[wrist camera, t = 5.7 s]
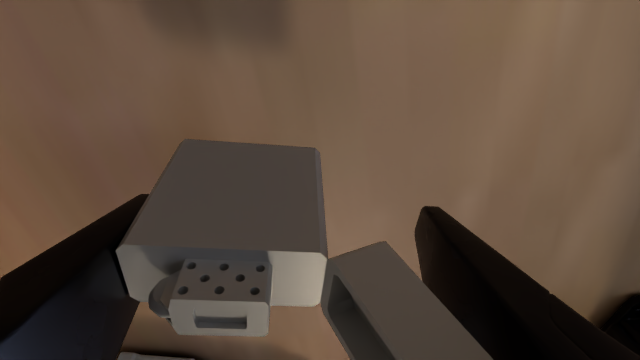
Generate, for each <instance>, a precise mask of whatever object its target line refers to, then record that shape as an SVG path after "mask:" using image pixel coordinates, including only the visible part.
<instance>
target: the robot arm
mask: <svg viewBox="0 0 640 360" xmlns="http://www.w3.org/2000/svg"><path fill="white" fill-rule="evenodd" d="M148 196H149V194H140V195H138V196H136V197H135V198H133V199H131V200H130V201H128V202H126V203H125V204H123V205H121V206H120V207H118V208H116V209H115V210H113V211H111V212H110V213H108V214H106V215H105V216H103V217H101V218H100V219H98V220H96V221H95V222H93V223H91V224H90V225H88V226H86V227H85V228H83V229H81V230H80V231H78V232H76V233H75V234H73V235H71V236H70V237H68V238H66V239H65V240H63V241H61V242H60V243H58V244H56V245H55V246H53V247H51V248H50V249H48V250H46V251H45V252H43V253H41V254H39V255H38V256H36V257H34V258H33V259H31V260H29V261H28V262H26V263H24V264H23V265H21V266H19V267H18V268H16V269H14V270H13V271H11V272H9V273H8V274H6V275H4V276H3V277H1V279H0V360H116V357H117V355H118V353H119V350H120V348H121V346H122V343H123V341H124V338H125V336H126V334H127V331H128V329H129V327H130V324H131V322H132V319H133V317H134V315H135V312H136V310H137V308H138V305H139V303H140V301H138V300H136V299H134V298H132V297H130V294H129V291H128V288H127V285H126V282H125V279H124V276H123V272H122V269H121V266H120V263H119V260H118V257H117V254H116V249H117V247H118V246H119V244H120V242H121V241H122V239H123V237H124V236H125V234H126V232H127V231H128V229H129V228H130V226H131V224H132V223H133V221H134V219H135V217H136V216H137V214H138V212H139V211H140V209H141V207H142V206H143V204H144V202H145V201H146V199H147V197H148ZM415 241H416V247H417V253H418V258H419V264H420V270H421V275H422V281H423V283H424V284H425V285H426V286H427V287H428V288H429V289H430V291H431V292H432V293H433V294H434V295H435V296H436V297H437V298H438V299H439V300H440V302H441V303H442V304H443V305H444V306H445V307H446V308H447V309H448V310H449V311H450V313H451V314H452V315H453V316H454V317H455V318H456V319H457V320H458V321H459V322H460V323H461V325H462V326H463V327H464V328H465V329H466V330H467V331H468V332H469V333H470V334H471V336H472V337H473V338H474V339H475V340H476V341H477V342H478V343H479V344H480V345H481V347H482V348H483V349H484V350H485V351H486V352H487V353H488V354H489V355H490V356H491V358H492V359H493V360H640V295H638V296H634V297H632V298H630V299H628V300H627V301H626V302H625V303H624V304H623V305H622V306H621V308H620V309H619V310H618V311H617V312H616V313H615V314H614V315H613V316H612V317H611V319H610V320H609V321H608V322H607V323H606V324H605V325H604V326H603V327H602V328H601V329H599V328H598V327H596V326H595V325H593V324H592V323H591V322H589V321H588V320H586V319H585V318H584V317H582V316H581V315H580V314H578V313H577V312H576V311H574V310H573V309H572V308H570V307H569V306H568V305H566V304H565V303H564V302H562V301H561V300H560V299H558V298H557V297H556V296H555V295H553V294H550V293H549V291H548V290H547V289H545V288H544V287H543V286H541V285H540V284H539V283H537V282H536V281H535V280H533V279H532V278H531V277H530V276H528V275H527V274H526V273H524V272H523V271H522V270H520V269H519V268H518V267H517V266H515V265H514V264H513V263H511V262H510V261H509V260H507V259H506V258H505V257H503V256H502V255H501V254H500V253H498V252H497V251H496V250H494V249H493V248H492V247H490V246H489V245H488V244H486V243H485V242H484V241H483V240H481V239H480V238H479V237H477V236H476V235H475V234H473V233H472V232H471V231H470V230H468V229H467V228H466V227H464V226H463V225H462V224H460V223H459V222H458V221H456V220H455V219H454V218H453V217H451V216H450V215H449V214H447V213H446V212H445V211H443V210H442V209H441V208H439V207H434V206H424V207H423V208H422V209H421V212H420V215H419V218H418V221H417V224H416V228H415Z"/></svg>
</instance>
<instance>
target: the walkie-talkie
mask: <svg viewBox="0 0 640 360" xmlns="http://www.w3.org/2000/svg"><path fill="white" fill-rule="evenodd" d="M117 360H195V359H192V358H179V357H165V356H152V355H140V354H137V353H134V352H121V353H120V355H119V357H118V359H117Z"/></svg>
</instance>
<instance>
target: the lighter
mask: <svg viewBox="0 0 640 360" xmlns="http://www.w3.org/2000/svg"><path fill="white" fill-rule="evenodd" d="M116 254H117V257H118V260H119V263H120V266H121V269H122V272H123V276H124V279H125V282H126V285H127V288H128V291H129V294H130V297H132V298H134V299H136V300H138V301H140V302H148V303H149V308H150V309H151V310H152V311H153V312H154V313H155V314H157V315H158V316H159V317H163V318H166V320H167V321H168V322H169V323H170V324H171V325H172V327H173V328H174V329H175V331H176V332H177V334H178V335H212V336H260V337H264V336H266V335H267V334H268V329H269V318H270V307H271V305H272V306H307V307H313V306H315V305H317V304H319V303H321V307H322V310H323V314H324V315H325V317H326V319H327V320H328V322H329V324H330V325H331V327H332V329H333V330H334V332H335V334H336V336H337V337H338V339H339V341H340V342H341V344H342V346H343V347H344V349H345V351H346V352H347V354H348V356H349V357H350V359H351V360H493V359H492V358H491V356H490V355H489V354H488V353H487V352H486V351H485V350H484V349H483V348H482V347H481V345H480V344H479V343H478V342H477V341H476V340H475V339H474V338H473V337H472V336H471V334H470V333H469V332H468V331H467V330H466V329H465V328H464V327H463V326H462V325H461V323H460V322H459V321H458V320H457V319H456V318H455V317H454V316H453V315H452V314H451V313H450V311H449V310H448V309H447V308H446V307H445V306H444V305H443V304H442V303H441V302H440V300H439V299H438V298H437V297H436V296H435V295H434V294H433V293H432V292H431V291H430V289H429V288H428V287H427V286H426V285H425V284H424V283H423V282H422V281H421V280H420V278H419V277H418V276H417V275H416V274H415V273H414V272H413V271H412V270H411V269H410V267H409V266H408V265H407V264H406V263H405V262H404V261H403V260H402V259H401V258H400V256H399V255H398V254H397V253H396V252H395V251H394V250H393V249H392V248H391V247H390V245H389V244H388V243H387V242H386V241H383V242H377V243H374V244H371V245H368V246H365V247H362V248H359V249H356V250H353V251H350V252H347V253H344V254H342V255H339V256H336V257H333V258H330V259H328V251H327V238H326V225H325V211H324V198H323V185H322V172H321V159H320V153H319V152H318V150H317V149H316V148H311V147H296V146H281V145H267V144H252V143H237V142H223V141H208V140H193V139H184V140H183V141H182V142H181V143H180V144H179V146H178V147H177V149H176V151H175V152H174V154H173V156H172V157H171V159H170V161H169V162H168V164H167V166H166V167H165V169H164V171H163V172H162V174H161V176H160V177H159V179H158V181H157V182H156V184H155V186H154V187H153V189H152V191H151V192H150V194H149V196H148V197H147V199H146V201H145V202H144V204H143V206H142V207H141V209H140V211H139V212H138V214H137V216H136V217H135V219H134V221H133V223H132V224H131V226H130V228H129V229H128V231H127V232H126V234H125V236H124V237H123V239H122V241H121V242H120V244H119V246H118V247H117V249H116Z"/></svg>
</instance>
